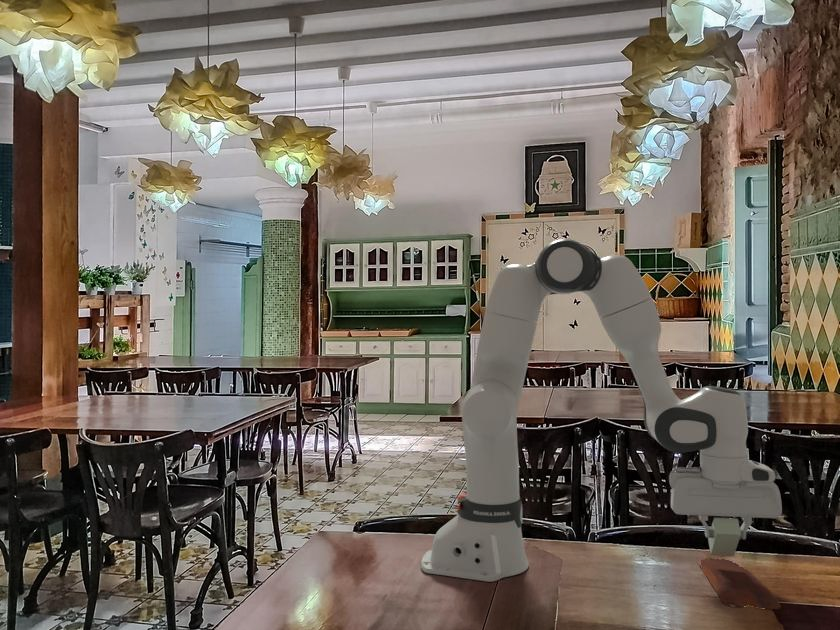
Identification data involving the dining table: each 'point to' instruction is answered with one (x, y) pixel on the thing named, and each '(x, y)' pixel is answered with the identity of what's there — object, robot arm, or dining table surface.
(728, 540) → the sage card box
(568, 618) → the dining table surface
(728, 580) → the wooden tablet
